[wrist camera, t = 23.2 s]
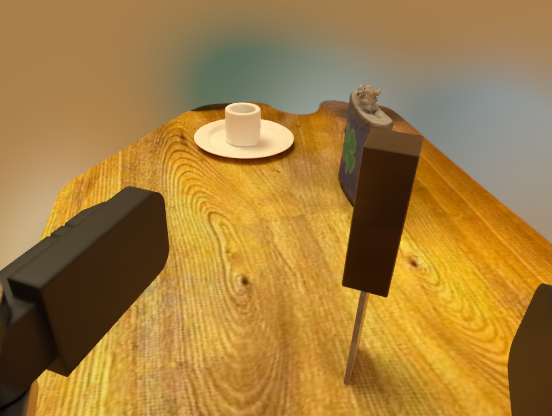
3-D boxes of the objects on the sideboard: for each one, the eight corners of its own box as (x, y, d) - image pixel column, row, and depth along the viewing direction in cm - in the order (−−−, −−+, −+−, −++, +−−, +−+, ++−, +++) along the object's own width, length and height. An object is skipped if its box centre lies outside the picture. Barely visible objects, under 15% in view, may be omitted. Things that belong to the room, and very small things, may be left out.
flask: (381, 213, 43) (401, 103, 38) (350, 213, 43) (366, 103, 38) (359, 168, 51) (373, 72, 46) (333, 168, 51) (344, 71, 45)
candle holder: (264, 118, 63) (264, 87, 61) (312, 152, 54) (315, 117, 52) (180, 132, 58) (177, 99, 56) (219, 172, 49) (217, 134, 47)
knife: (326, 377, 28) (361, 149, 20) (338, 341, 30) (373, 124, 22) (366, 390, 27) (418, 159, 19) (374, 352, 29) (424, 133, 21)
